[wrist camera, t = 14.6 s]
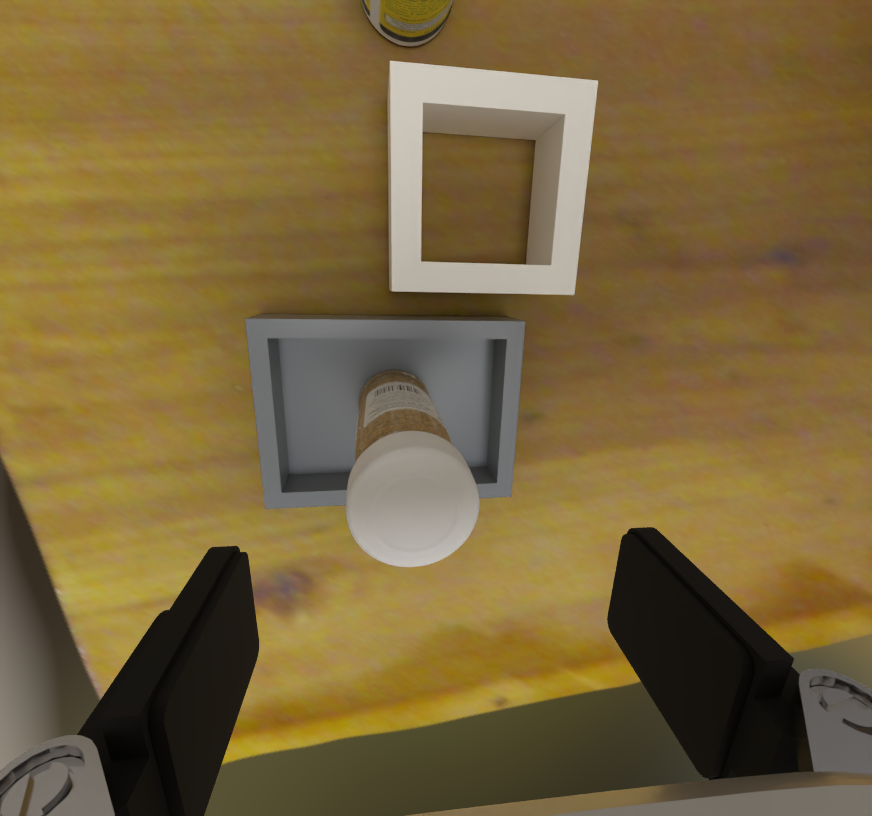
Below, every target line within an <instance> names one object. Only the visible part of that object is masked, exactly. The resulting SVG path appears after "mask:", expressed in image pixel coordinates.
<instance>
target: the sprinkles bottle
mask: <svg viewBox="0 0 872 816" xmlns="http://www.w3.org/2000/svg"><path fill="white" fill-rule="evenodd" d="M358 404H359V413H358V418H357V427H356V452H355V464H354V466H353V468H352V470H351V473H350V476H349V479H348V486H347V495H346V517H347V522H348V526H349V529H350V532H351V533H352V535H353V537H354V539H355V541H356V542H357V543H358V545H359V546H360V547H361V548H362V549H363V550H364V551H365V552H366V553H368V554H369V555H370V556H372V557H373V558H375V559H377V560H379V561H381V562H384V563H386V564H389V565H394V566H399V567H418V566H424V565H428V564H431V563H434V562H437V561H440V560H442V559H443V558H445V557H447V556H449V555H450V554H452V553H453V552H454V551H456V550H457V549H458V548H459V547H460V546H461V545H462V544H463V543H464V542H465V541H466V539H467V538H468V537H469V535H470V534H471V532H472V530H473V528H474V526H475V524H476V521H477V517H478V513H479V494H478V489H477V485H476V483H475V480H474V478H473V476H472V473H471V471H470V469H469V467H468V465H467V463H466V461H465V460H464V458H463V456H462V455H461V453H460V452H459V451H458V450H457V449H456V448H455V447H454V446H453V445H452V443H451V439H450V436H449V434H448V431H447V429H446V427H445V425H444V424H443V422H442V420H441V418H440V416H439V413H438V412H437V410H436V408H435V405H434V403H433V402H432V400H431V398H430V395H429V392H428V390H427V389H426V387H425V385H424V383H423V382H422V381H421V380H420V379H419V378H418V377H416V376H415V375H413V374H411V373H409V372H405V371H402V370H388V371H383V372H381V373H378V374H377V375H375V376H374V377H373V378H371V379H369V381H368V382H367V383H366V384H365V386H364V387H363V388H362V390H361V393H360V397H359V401H358Z"/></svg>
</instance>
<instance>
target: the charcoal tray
mask: <svg viewBox="0 0 872 816" xmlns="http://www.w3.org/2000/svg"><path fill="white" fill-rule="evenodd" d="M245 323H246V332H247V342H248V351H249V361H250V370H251V379H252V389H253V398H254V408H255V417H256V427H257V436H258V446H259V455H260V465H261V474H262V484H263V493H264V503H265V509H278V508H298V507H318V506H337V505H346V495H347V486H348V479H349V476H350V473H351V470H352V468H353V466H354V464H355V452H356V427H357V418H358V413H359V404H358V401H359V397H360V393H361V390H362V388H363V387H364V386H365V384H366V383H367V382H368V381H369V379H371V378H373V377H374V376H375V375H377V374H378V373H381V372H383V371H388V370H402V371H405V372H409V373H411V374H413V375H415V376H416V377H418V378H419V379H420V380H421V381H422V382H423V383H424V385H425V387H426V389H427V390H428V392H429V395H430V398H431V400H432V402H433V403H434V405H435V408H436V410H437V412H438V413H439V416H440V418H441V420H442V422H443V424H444V425H445V427H446V429H447V431H448V434H449V436H450V439H451V443H452V445H453V446H454V447H455V448H456V449H457V450H458V451H459V452H460V453H461V455H462V456H463V458H464V460H465V461H466V463H467V465H468V467H469V469H470V471H471V473H472V476H473V478H474V480H475V483H476V485H477V489H478V494H479V498H495V497H511V494H512V481H513V469H514V457H515V444H516V432H517V419H518V407H519V395H520V382H521V370H522V357H523V345H524V333H525V321H522V320H518V319H514V318H511V317H507V316H421V315H334V314H259V315H256V316H252V317H249V318H245Z"/></svg>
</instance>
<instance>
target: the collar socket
mask: <svg viewBox="0 0 872 816" xmlns="http://www.w3.org/2000/svg"><path fill="white" fill-rule="evenodd" d="M597 87H598V81H597V80H586V79H576V78H565V77H555V76H544V75H534V74H523V73H513V72H502V71H492V70H482V69H471V68H461V67H450V66H440V65H429V64H419V63H408V62H398V61H390V68H389V82H388V95H387V113H388V216H389V290H390V291H398V292H449V293H501V294H553V295H574V293H575V284H576V275H577V266H578V257H579V248H580V240H581V231H582V222H583V213H584V204H585V195H586V186H587V177H588V168H589V159H590V150H591V141H592V132H593V123H594V114H595V105H596V96H597ZM422 132H429V133H443V134H457V135H471V136H484V137H498V138H512V139H526V140H536V141H535V154H534V166H533V179H532V192H531V205H530V218H529V231H528V243H527V256H526V265H520V264H486V263H452V262H421V220H422Z"/></svg>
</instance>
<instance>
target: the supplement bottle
mask: <svg viewBox="0 0 872 816" xmlns="http://www.w3.org/2000/svg"><path fill="white" fill-rule="evenodd" d="M361 2H362V5H363V8H364V10H365V13H366V15H367V17H368V18H369V20H370V22H371V23H372V25H373V26H374V27H375V28H376V29H377V31H379V32H380V33H381V34H382V35H383V36H384V37H385V38H387V39H388V40H390V41H392V42H394V43H396V44H399V45H402V46H417V45H421V44H424V43H426V42H428V41H429V40H431V39H432V38H433V37H435V36H436V35H437V34H438V32H439V31H440V30H441V29H442V27H443V26H444V24H445V22H446V20H447V18H448V15H449V13H450V11H451V7H452V4H453V0H361Z"/></svg>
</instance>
